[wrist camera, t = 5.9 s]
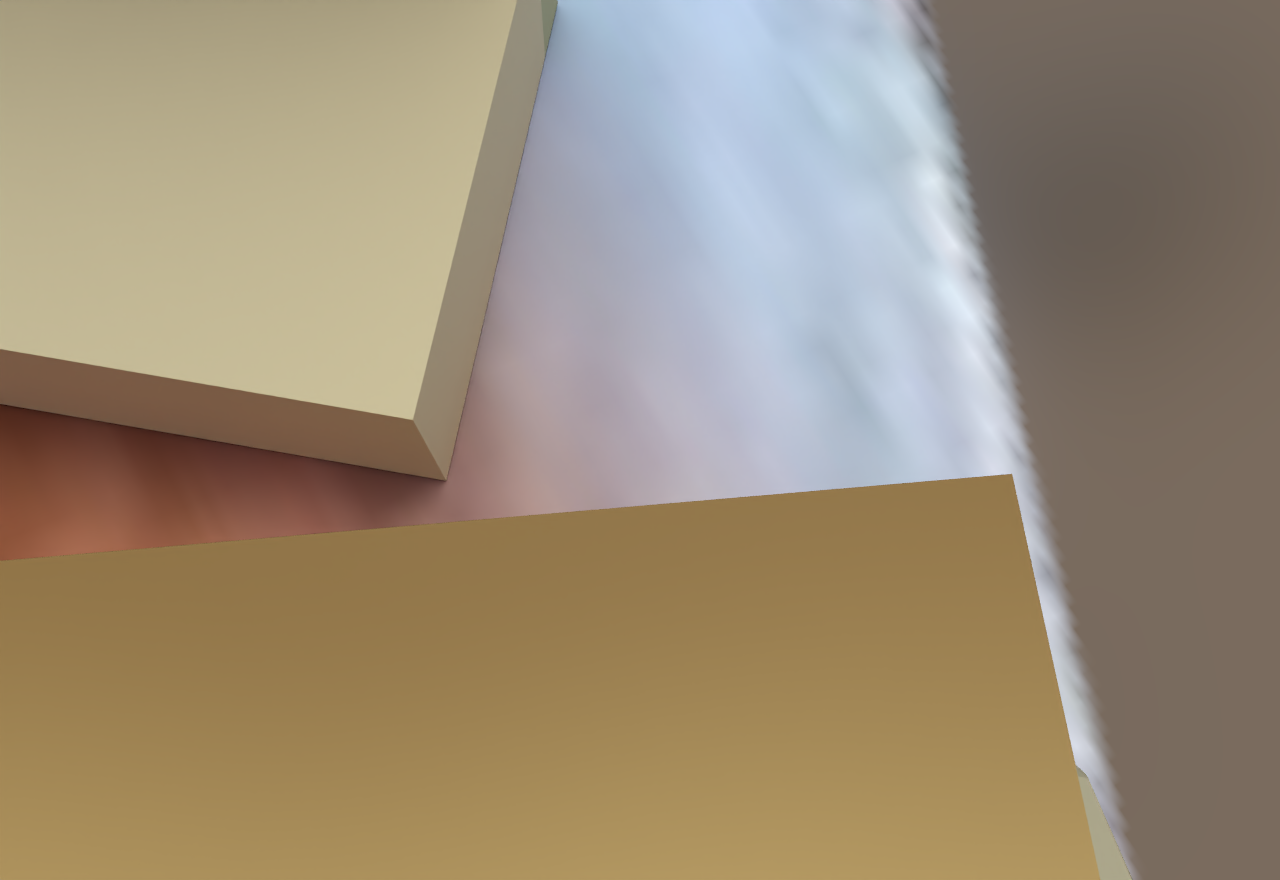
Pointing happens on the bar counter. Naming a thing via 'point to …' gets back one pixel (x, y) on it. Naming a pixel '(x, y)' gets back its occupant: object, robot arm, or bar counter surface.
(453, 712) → the small box
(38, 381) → the cream l-shaped bookend
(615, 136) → the bar counter surface
